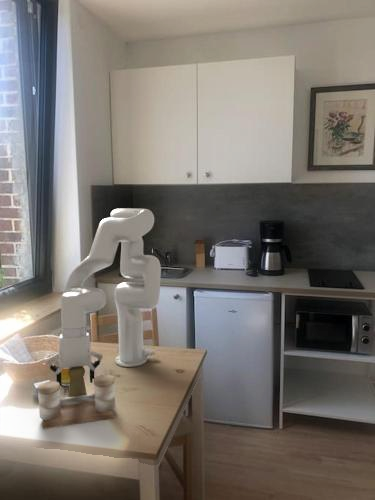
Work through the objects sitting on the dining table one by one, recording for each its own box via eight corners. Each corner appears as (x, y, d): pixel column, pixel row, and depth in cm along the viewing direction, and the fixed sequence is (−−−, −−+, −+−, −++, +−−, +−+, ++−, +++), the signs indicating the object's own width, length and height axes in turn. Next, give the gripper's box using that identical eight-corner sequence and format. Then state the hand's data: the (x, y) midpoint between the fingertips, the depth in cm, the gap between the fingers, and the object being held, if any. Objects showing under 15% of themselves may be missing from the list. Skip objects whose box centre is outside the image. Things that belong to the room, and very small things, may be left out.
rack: (113, 401, 137) (112, 370, 135) (117, 417, 127) (116, 384, 126) (40, 411, 131) (38, 379, 130) (38, 429, 122) (36, 394, 120)
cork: (91, 396, 141) (89, 364, 139) (80, 405, 135) (79, 371, 134) (75, 393, 143) (73, 362, 141) (64, 402, 137) (62, 369, 135)
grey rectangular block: (49, 391, 145) (49, 380, 144) (52, 396, 141) (51, 384, 141) (34, 394, 142) (33, 383, 142) (36, 399, 139) (36, 388, 138)
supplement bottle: (72, 387, 147) (70, 360, 146) (57, 385, 148) (56, 359, 147) (79, 380, 153) (77, 354, 151) (65, 378, 154) (63, 353, 152)
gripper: (101, 325, 141) (102, 375, 143) (46, 329, 137) (48, 380, 139) (102, 332, 134) (104, 384, 136) (44, 337, 130) (47, 391, 132)
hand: (75, 382), depth 138 cm, fingers open, 9 cm apart
